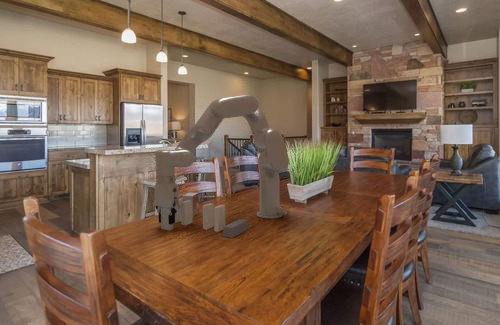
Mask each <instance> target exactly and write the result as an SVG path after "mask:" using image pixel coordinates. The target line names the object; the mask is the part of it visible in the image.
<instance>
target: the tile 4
mask: <svg viewBox="0 0 500 325" xmlns="http://www.w3.org/2000/svg"><path fill="white" fill-rule="evenodd" d="M214 207H215V205H214V203H210V202H209V203H206V204H203V205H202V230H206V231H207V230H210V229H212V228H214Z"/></svg>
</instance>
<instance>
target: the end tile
mask: <svg viewBox="0 0 500 325" xmlns="http://www.w3.org/2000/svg"><path fill="white" fill-rule="evenodd" d="M181 202H182V198H179V205H180V207H181ZM180 222H181V208H180V209H179V210H178V211H177V212H176V214H175V223H173V225H174V224H177V223H180Z"/></svg>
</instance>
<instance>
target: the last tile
mask: <svg viewBox="0 0 500 325" xmlns="http://www.w3.org/2000/svg"><path fill="white" fill-rule="evenodd" d="M224 226H226V205H225V204H220V205H217V206H214V227H213V228H214V232H217V233H219V232H221V231H224Z"/></svg>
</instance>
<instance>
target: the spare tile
mask: <svg viewBox="0 0 500 325" xmlns="http://www.w3.org/2000/svg"><path fill="white" fill-rule="evenodd" d="M160 209H161V223H160V229H161V230H164V231H173V230H174V223H173V224H171V225H170V224H169V219H168V216H169V215H170V214H169V210H168V208H166V207H161V208H160ZM171 209H172V208H171ZM172 210H173V209H172Z"/></svg>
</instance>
